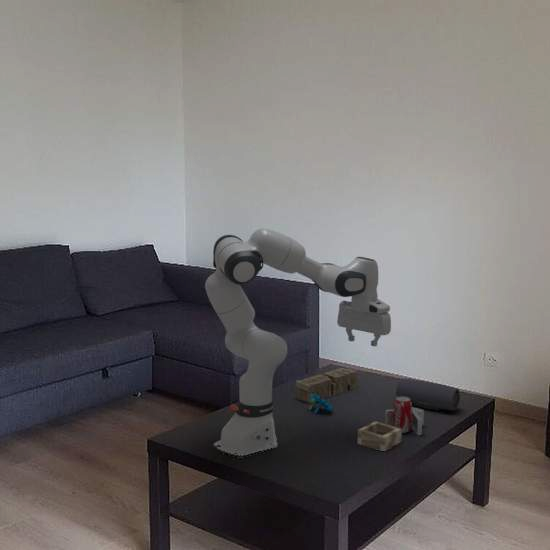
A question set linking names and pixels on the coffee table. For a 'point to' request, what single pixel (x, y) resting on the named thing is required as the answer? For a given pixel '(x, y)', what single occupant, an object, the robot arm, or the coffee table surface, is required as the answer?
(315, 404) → the blue toy figure
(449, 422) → the coffee table surface
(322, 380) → the block tower
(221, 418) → the coffee table surface
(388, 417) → the v-block
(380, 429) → the bore block
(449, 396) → the bluetooth speaker
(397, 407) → the beverage can
